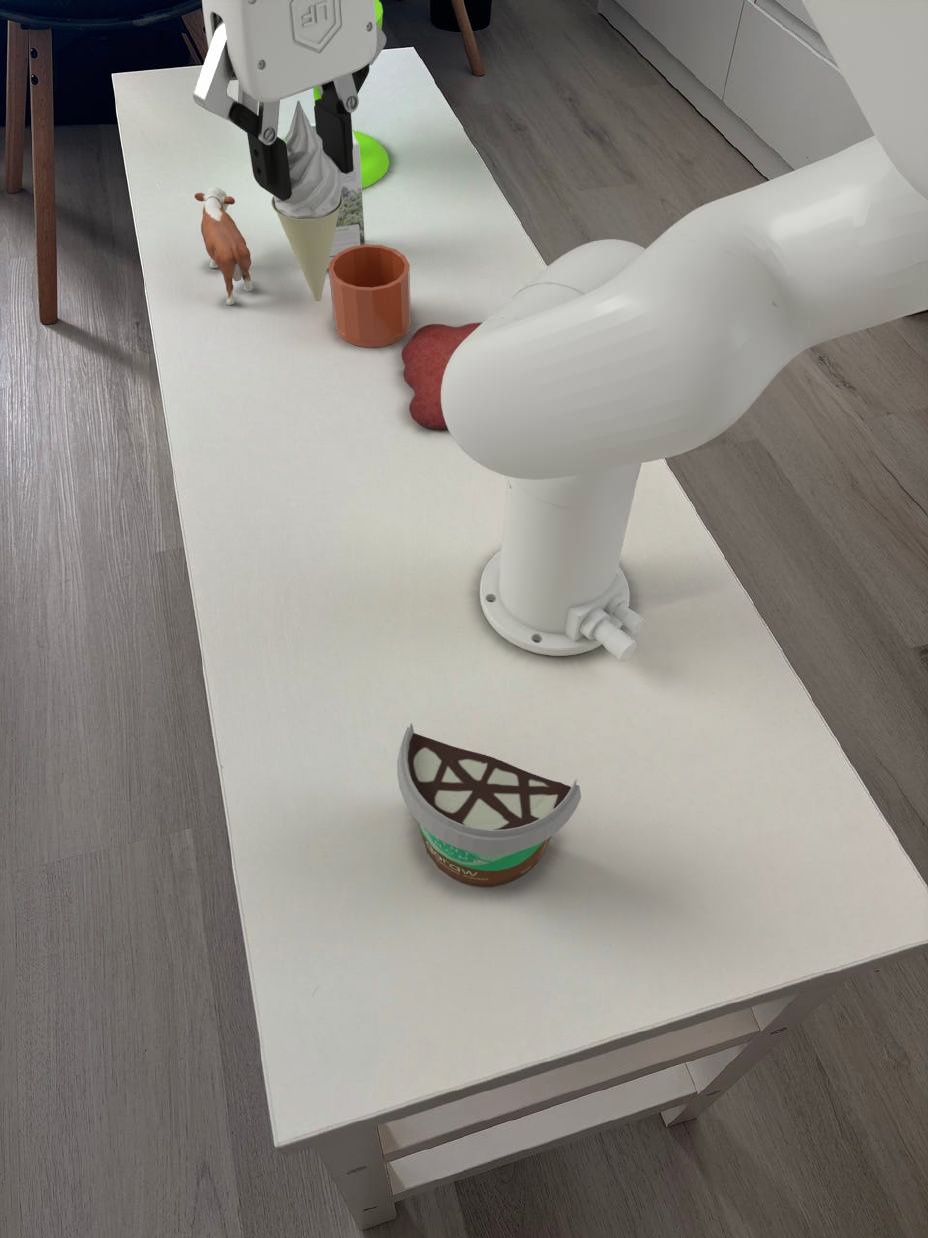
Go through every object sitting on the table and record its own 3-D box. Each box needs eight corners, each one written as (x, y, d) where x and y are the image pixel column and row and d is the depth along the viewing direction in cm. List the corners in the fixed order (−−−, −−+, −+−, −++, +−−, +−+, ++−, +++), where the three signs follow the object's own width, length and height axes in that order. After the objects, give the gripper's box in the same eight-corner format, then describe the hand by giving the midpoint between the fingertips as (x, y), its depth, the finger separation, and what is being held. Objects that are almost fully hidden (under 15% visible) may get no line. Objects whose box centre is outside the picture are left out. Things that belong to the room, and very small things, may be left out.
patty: (554, 431, 96) (556, 415, 94) (414, 443, 94) (414, 427, 93) (521, 324, 107) (522, 308, 105) (394, 333, 105) (394, 318, 103)
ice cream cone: (342, 322, 74) (324, 121, 62) (277, 314, 74) (247, 113, 62) (357, 284, 77) (343, 86, 65) (295, 276, 77) (269, 78, 65)
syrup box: (354, 238, 116) (345, 114, 105) (367, 265, 113) (359, 140, 101) (307, 246, 115) (293, 121, 104) (319, 273, 112) (305, 147, 100)
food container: (372, 867, 68) (363, 799, 60) (407, 792, 72) (403, 720, 64) (541, 930, 65) (555, 868, 58) (568, 850, 69) (585, 782, 61)
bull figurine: (240, 243, 115) (228, 175, 109) (261, 308, 107) (250, 239, 101) (202, 248, 114) (188, 181, 108) (222, 314, 107) (208, 246, 100)
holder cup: (426, 327, 106) (425, 269, 100) (366, 357, 102) (362, 299, 97) (378, 293, 110) (375, 235, 104) (319, 321, 106) (313, 263, 101)
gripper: (178, -91, 48) (236, 246, 63) (432, -156, 56) (432, 159, 70) (98, -130, 51) (171, 199, 66) (348, -187, 59) (365, 120, 73)
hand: (305, 175), depth 68 cm, fingers closed on ice cream cone, 4 cm apart
